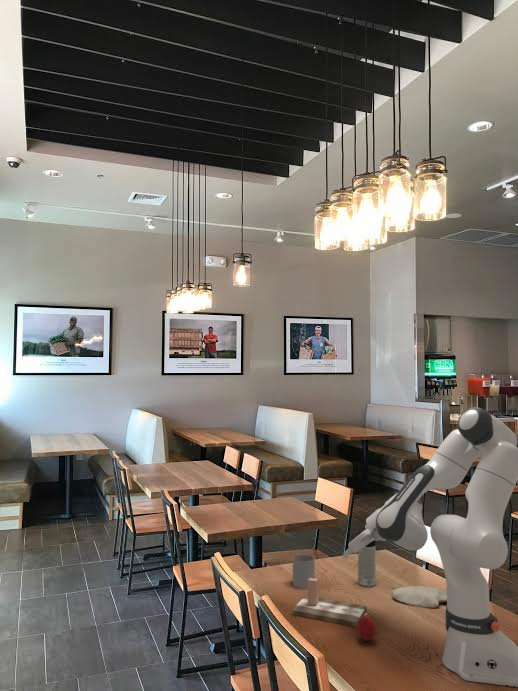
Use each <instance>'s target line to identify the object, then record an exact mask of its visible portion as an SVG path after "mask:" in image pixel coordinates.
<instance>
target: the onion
mask: <svg viewBox="0 0 518 691" xmlns="http://www.w3.org/2000/svg"><path fill="white" fill-rule="evenodd" d="M369 615H370V614H369V613H368V612H366V613H365V615H364V616H363V617H361V618H360V619H359V620H358V623H357V627H356V632H357V633H358V635H359V637H360V638H361V639H362V640H364V641H365V642H369V641H370V640H371V639H372V638H374V636H376V634H377V624H376V622H375V620H374V619H373V618H372V617H370V616H369Z"/></svg>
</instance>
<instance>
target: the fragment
mask: <svg viewBox="0 0 518 691" xmlns="http://www.w3.org/2000/svg"><path fill="white" fill-rule="evenodd" d="M390 593H391V595H392V598H394V599H395V600H397V601H398V602H399V603H400V602H401V603H404V604H406V605H408V606H413V607H415V608H419V607H420V608H426V609H427V608H430V609H434V608H437V607H439V604H441V603H447V590H446V591H445V590H444V589H443V588H442V587H432V586H431V587H429V586H424V585H417V586H416V585H415V586H414V585H411V586H401V587H399V588H395V589H393V590H392V591H391V592H390Z"/></svg>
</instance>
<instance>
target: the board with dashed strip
mask: <svg viewBox="0 0 518 691" xmlns="http://www.w3.org/2000/svg"><path fill="white" fill-rule="evenodd" d="M366 611H368V606H367V605H364V604H362V605H361V604H356V603H351V602H344V601H339V600H334V599H328V598H321V597H318V604H317V605H310V604H308V595H304V597H303V598H301V599H300V601H298V603H297V604H296V605H295V606H294V607H293V608H292V609H291V615H292V616H297V617H302V618H308V619H312V620H313V619H314V620H318V621H323V622H329V623H334V624H338V625H339V624H340V625H345V626H349V625H350V627H354V626H355V628H357V623H358V620H359V619H360V618H361V617H363V616H364V614H365V613H367V612H366Z"/></svg>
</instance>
